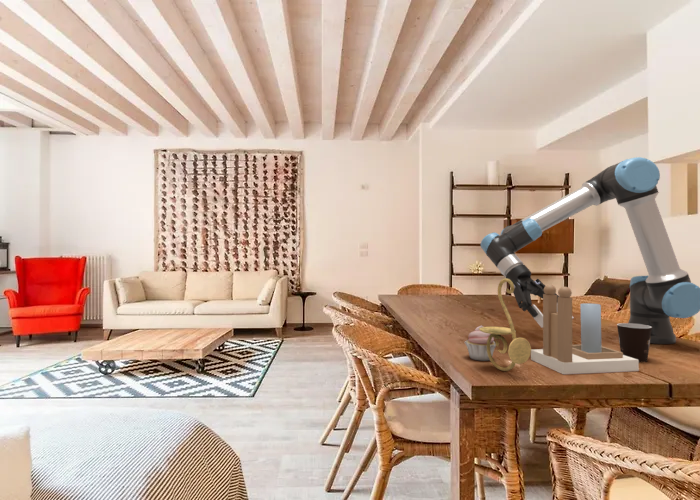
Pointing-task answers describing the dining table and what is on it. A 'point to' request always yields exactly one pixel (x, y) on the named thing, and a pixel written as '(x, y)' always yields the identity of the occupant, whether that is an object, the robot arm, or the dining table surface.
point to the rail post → (591, 328)
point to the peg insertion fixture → (559, 342)
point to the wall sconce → (519, 346)
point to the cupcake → (479, 345)
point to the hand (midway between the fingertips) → (558, 322)
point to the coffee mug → (634, 340)
